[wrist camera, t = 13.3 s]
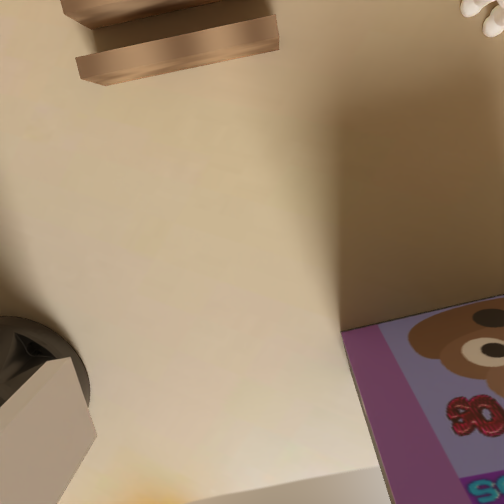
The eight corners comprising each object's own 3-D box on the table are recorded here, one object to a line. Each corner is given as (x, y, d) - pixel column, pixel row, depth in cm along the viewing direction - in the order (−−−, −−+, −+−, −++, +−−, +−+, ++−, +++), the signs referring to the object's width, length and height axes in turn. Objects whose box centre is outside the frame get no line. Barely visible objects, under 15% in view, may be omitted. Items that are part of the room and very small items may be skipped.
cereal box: (529, 288, 41) (856, 485, 18) (536, 335, 42) (852, 578, 19) (340, 331, 43) (414, 559, 20) (351, 375, 44) (433, 639, 21)
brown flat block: (105, 85, 39) (80, 78, 34) (100, 67, 38) (75, 57, 34) (278, 49, 37) (279, 36, 32) (275, 30, 37) (275, 14, 32)
